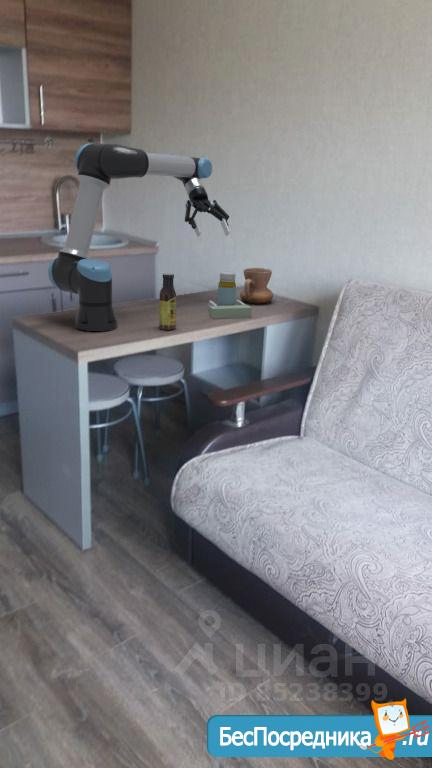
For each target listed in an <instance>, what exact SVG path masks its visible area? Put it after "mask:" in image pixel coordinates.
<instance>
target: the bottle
mask: <svg viewBox="0 0 432 768" xmlns="http://www.w3.org/2000/svg"><path fill="white" fill-rule="evenodd" d="M217 285H218V287H217V304H216V305H217V306H232V305H236V294H237V293H236V292H237V291H236V289H237V284H236V272H234V271H220V272H219V282H218V283H217Z"/></svg>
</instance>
